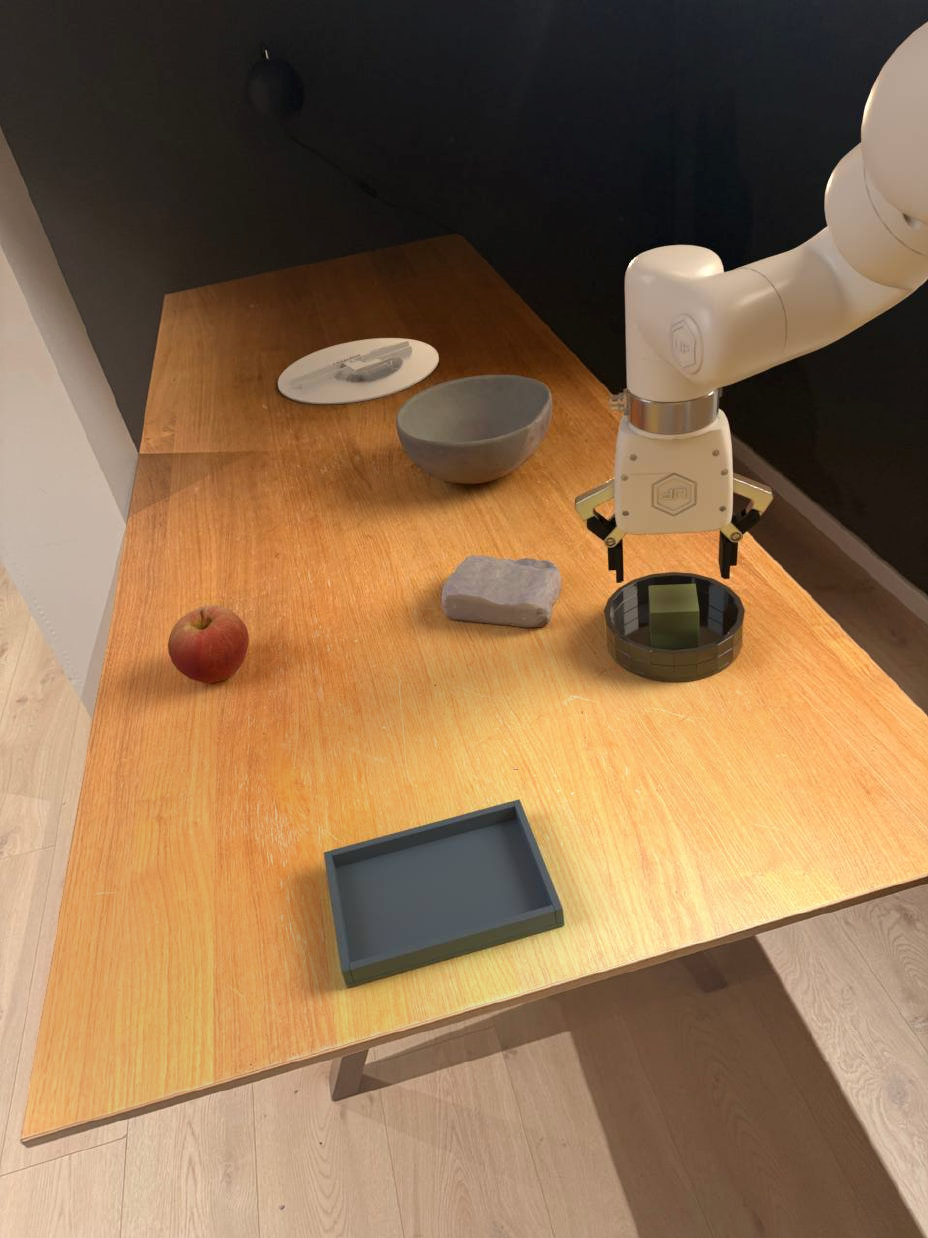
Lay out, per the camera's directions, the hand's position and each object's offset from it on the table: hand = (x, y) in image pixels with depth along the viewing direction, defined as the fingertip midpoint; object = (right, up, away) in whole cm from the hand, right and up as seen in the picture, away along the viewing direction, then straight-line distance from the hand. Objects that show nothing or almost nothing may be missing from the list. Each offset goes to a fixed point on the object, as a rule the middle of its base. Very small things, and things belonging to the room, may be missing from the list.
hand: (671, 572), depth 90 cm
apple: (-45, -10, +10) cm, 47 cm away
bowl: (-17, +15, +38) cm, 45 cm away
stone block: (-15, -2, +13) cm, 20 cm away
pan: (+1, -6, +4) cm, 8 cm away
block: (+1, -6, +4) cm, 7 cm away
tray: (-21, -26, -17) cm, 37 cm away
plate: (-38, +38, +74) cm, 92 cm away
